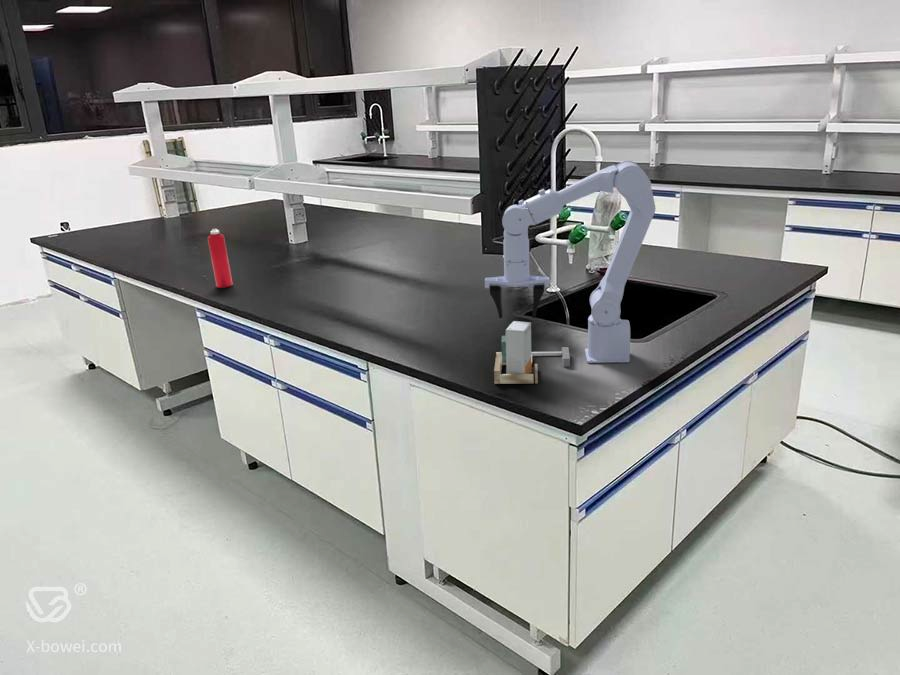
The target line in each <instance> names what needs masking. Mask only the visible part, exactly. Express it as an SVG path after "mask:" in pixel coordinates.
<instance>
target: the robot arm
mask: <svg viewBox="0 0 900 675" xmlns="http://www.w3.org/2000/svg"><path fill="white" fill-rule="evenodd" d="M614 188H615V189H616V191H617V192H618V193H619V194H620V195H621V196H622V197H624V199H625V200H626V203H627V205H628V207H629V209H630V211H629V214H628V217H627V219H626V220H625V223H624V226H623V228H622V231H621V234H620V236H619V239H618V241H617V244H616V247H615V249H614V251H613V254H612V256H611V258H610V261H609V264H608V267H607V269H606V272H605V274H604V276H603V277H602V279H601V280H599V281H600V282H599V284H598V286H597V287H596V288H595V289H594V290H592V292H591V293H590V296H589V305H590V307H591V314H590V315H589V316H588V318H587V326H588V327H587V348H584V353H585V358H586V362H587V363H589V364H593V363H594V364H596V363H600V364H601V363H602V364H603V363H605V364H606V363H607V364H609V363H630V361H631V359H630V351H631V325H630V324H631V323H630V321H629V320H628V319H621V312H622V311H621V302H622V300H623V296H624V292H625V286H626V283H627V281H628V278H629V276H630V274H631V271H632V269H633V266H634V264H635V262H636V259H637V256H638V254H639V252H640V249H641V248H642V244H643V242H644V239H645V237H646V235H647V232H648V230H649V228H650V225H651V223H652V220H653V217H654V215H655V213H656V204H655V199H654V193H653V188H652V182H651V180H650V178H649V177H648V175H647V174H646V172H645V171H644V170H643V169H642V167H640V166H639V164H638V163H636V162H635V161H633V160H623V161H621V162H619V163H618V164H616V165H615V164H613V165H609V166H606V167H604V168H603V169H600V170H598V171H596V172H594V173H592V174H590V175H587V176H586V177H584V178H581V179H579V180H578V181H576V182H574V183H572V184H570V185H568V186H566V187H564V188H563V189H561V190H558V191H557V190H554V189H551V188H548V189H547V190H545V189H544V188H542V189H540V190H538V193H537V194H536V195H534V196H532V197H530V198H527V199H526V200H524V199H521V200H519V201H518V204H512V205H510V206H508V207H507V208H506V209H505V211H504V212H503V215H502V219H501V222H502V227H503V229H504V231H503V238H504V239H503V275H502V276H494V277H493V276H492V277H485V279H484V288H485V289H489V294H490V296H491V297H492V299H493V301H494V304H495V307H496V309H497V313H498V314H497V315H498V318H499V319H503V315H504V314H503V313H504V312H503V303H502V302H503V300H502V288H519V287H521V288H524V287H525V288H526V287H527V288H528V287H529V288H530V287H531V288H532V290H533V291H532V292H533V293H532V294H533V295H532V297H533V298H532V300H533V301H532V302H533V303H532V318H533V319H536V318H537V311H538V307H539V304H540V302H541V299H542V298H543V295H544V292H545V288H549V287H550V277H549V276H539V275H538V276H537V275H530V239H529V235H528V234H529V227H530V226H536V225H538V224H540V223H543V222H545V221H547V220H549V219H551V218H554V217H555V216H558V215H560V214H561V213H562V211H563V207H564V206H565V205H568V204H571V203H573V202H575V201H577V200H580V199H582V198H585V197H586V196H589V195H592V194H594V193H596V192H604V193H610V194H614V192H615V191H614Z"/></svg>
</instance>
